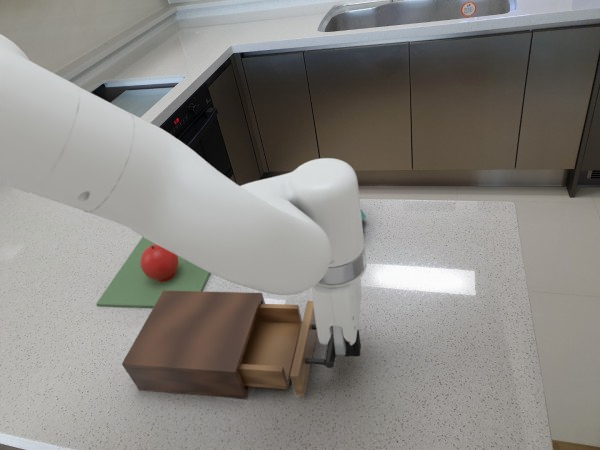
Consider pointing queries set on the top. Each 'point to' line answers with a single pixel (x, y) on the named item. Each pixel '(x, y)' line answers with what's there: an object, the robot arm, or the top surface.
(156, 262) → the apple
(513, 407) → the top surface
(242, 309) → the cabinet
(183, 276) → the mat
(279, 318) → the drawer
